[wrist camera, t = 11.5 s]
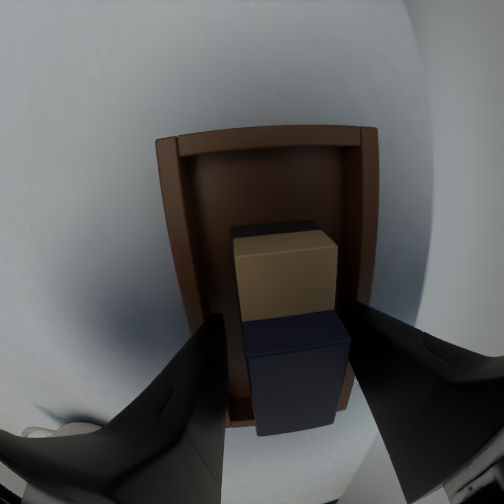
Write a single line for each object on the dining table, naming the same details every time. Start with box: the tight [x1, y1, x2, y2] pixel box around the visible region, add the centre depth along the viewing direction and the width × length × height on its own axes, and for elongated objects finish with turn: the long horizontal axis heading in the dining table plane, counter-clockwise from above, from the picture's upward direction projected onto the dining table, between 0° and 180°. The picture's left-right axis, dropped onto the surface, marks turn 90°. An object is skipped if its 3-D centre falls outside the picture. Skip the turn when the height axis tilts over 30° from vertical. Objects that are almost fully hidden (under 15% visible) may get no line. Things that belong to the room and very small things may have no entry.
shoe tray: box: [155, 125, 379, 428], centre depth 10 cm, size 6×12×2 cm, turn 5°
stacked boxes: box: [230, 220, 351, 436], centre depth 8 cm, size 6×3×4 cm, turn 5°
